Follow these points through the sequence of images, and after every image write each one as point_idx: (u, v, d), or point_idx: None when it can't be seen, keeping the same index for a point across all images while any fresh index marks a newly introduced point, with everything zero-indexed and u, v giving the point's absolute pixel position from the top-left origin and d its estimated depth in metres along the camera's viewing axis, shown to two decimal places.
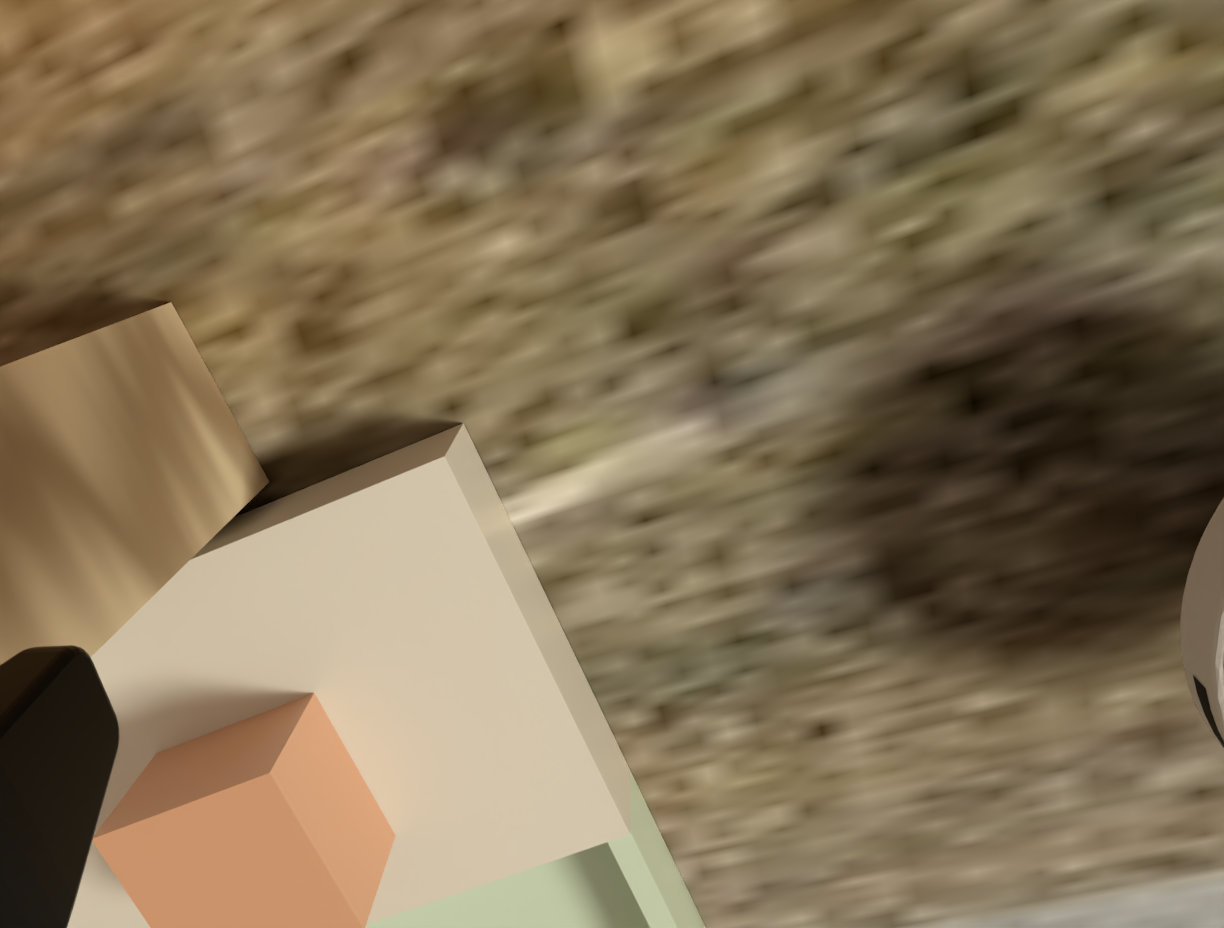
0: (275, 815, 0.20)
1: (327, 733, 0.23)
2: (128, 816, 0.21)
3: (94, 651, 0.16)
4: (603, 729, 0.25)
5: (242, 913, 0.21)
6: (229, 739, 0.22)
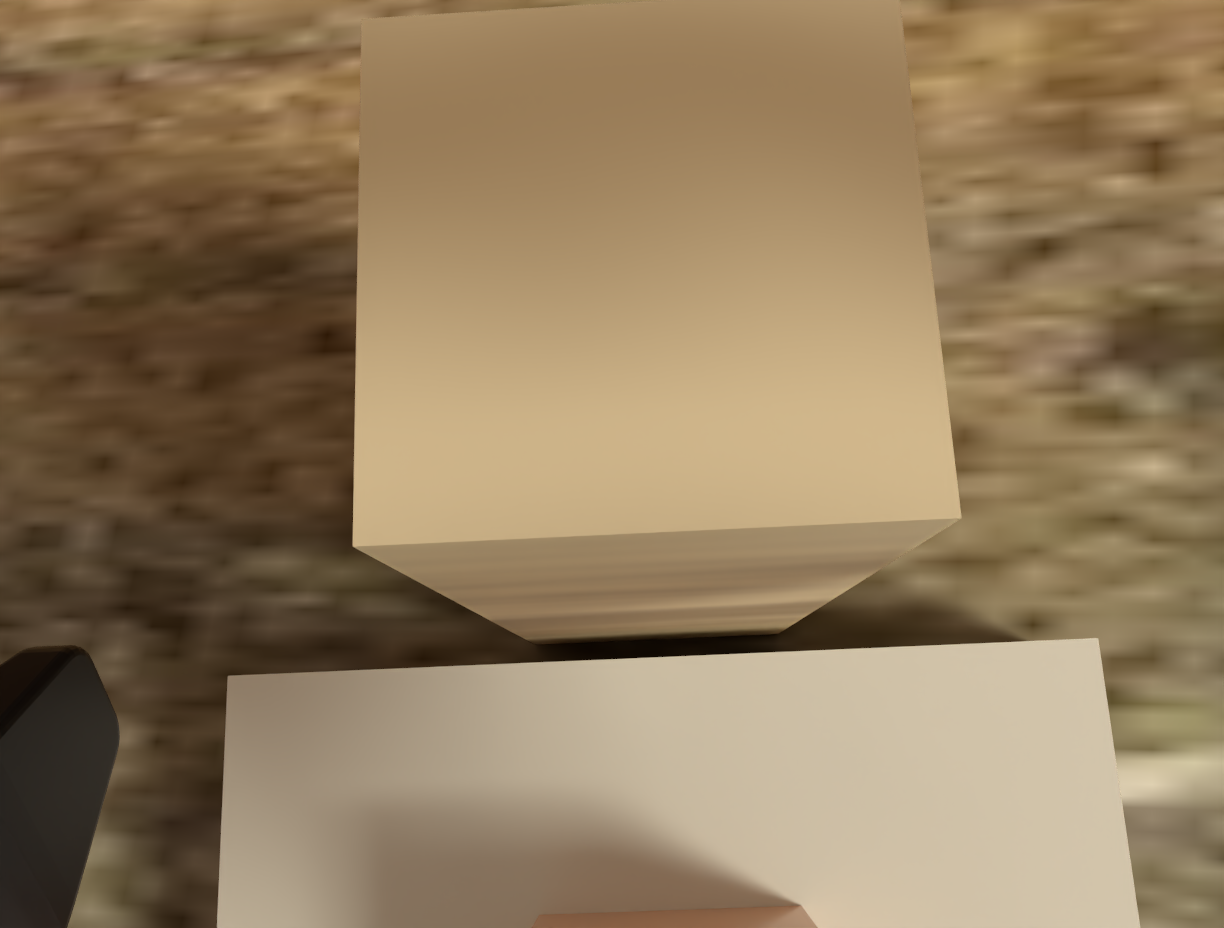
0: None
1: None
2: None
3: None
4: None
5: None
6: (682, 919, 0.15)
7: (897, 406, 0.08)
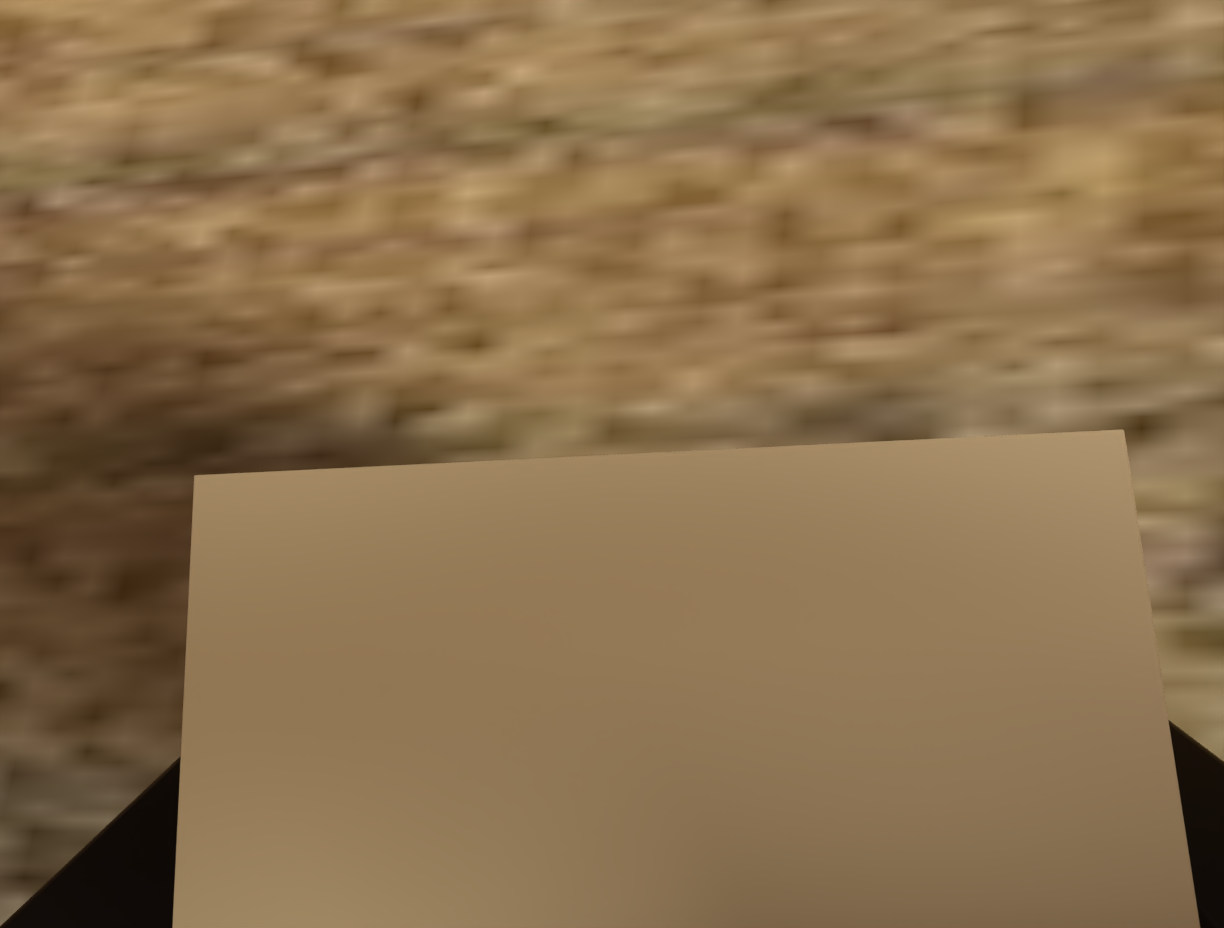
0: None
1: None
2: None
3: None
4: None
5: None
6: None
7: None
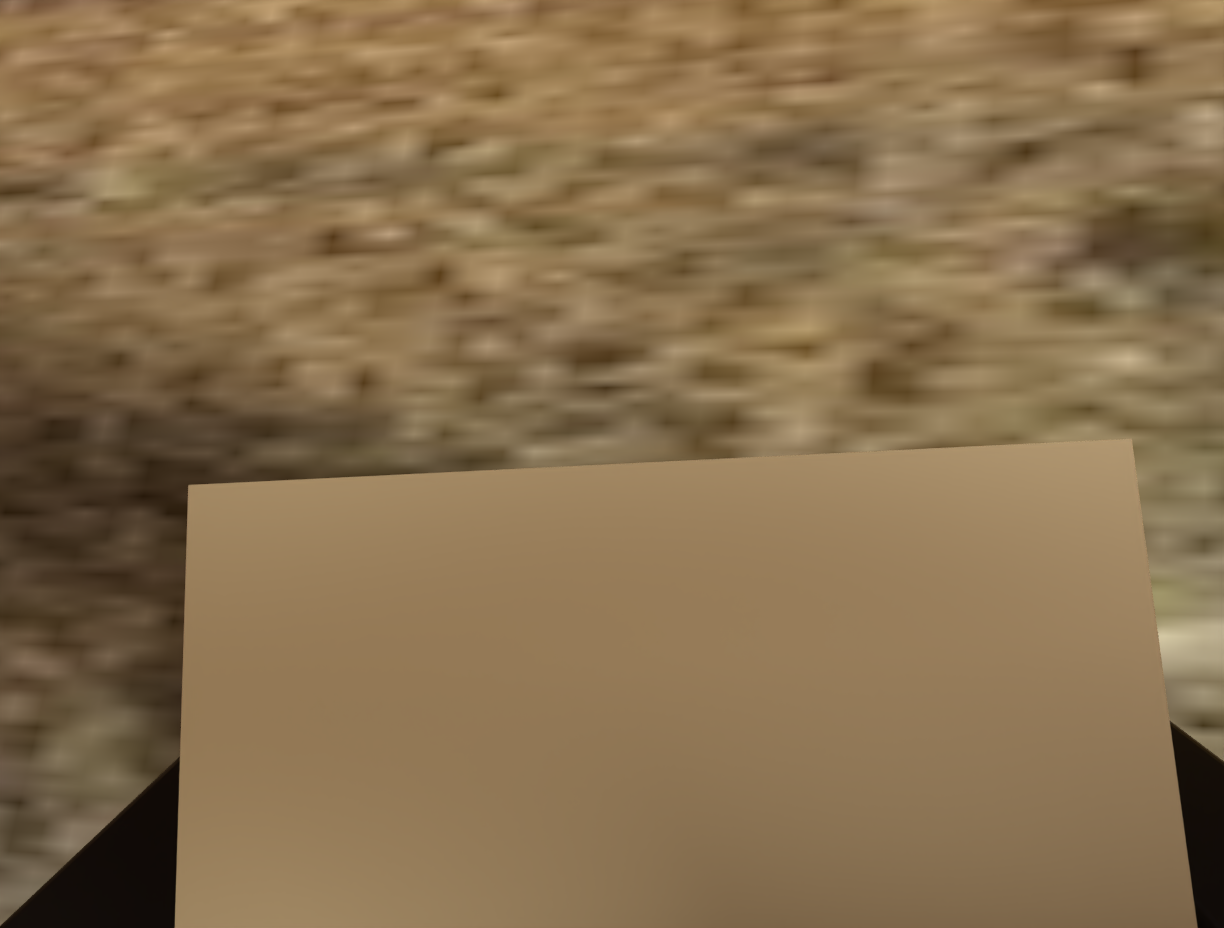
0: None
1: None
2: None
3: None
4: None
5: None
6: None
7: None
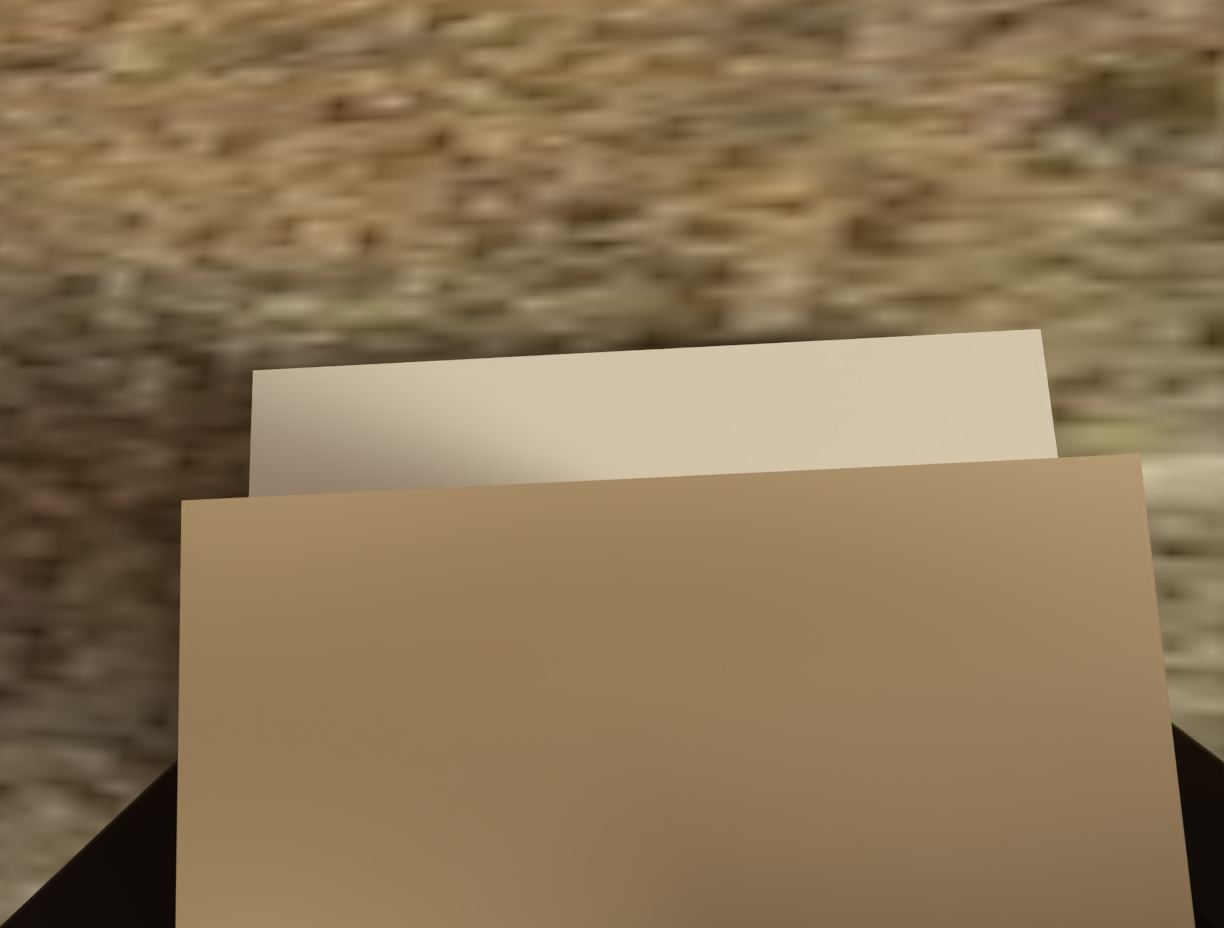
0: None
1: None
2: None
3: None
4: None
5: None
6: None
7: None
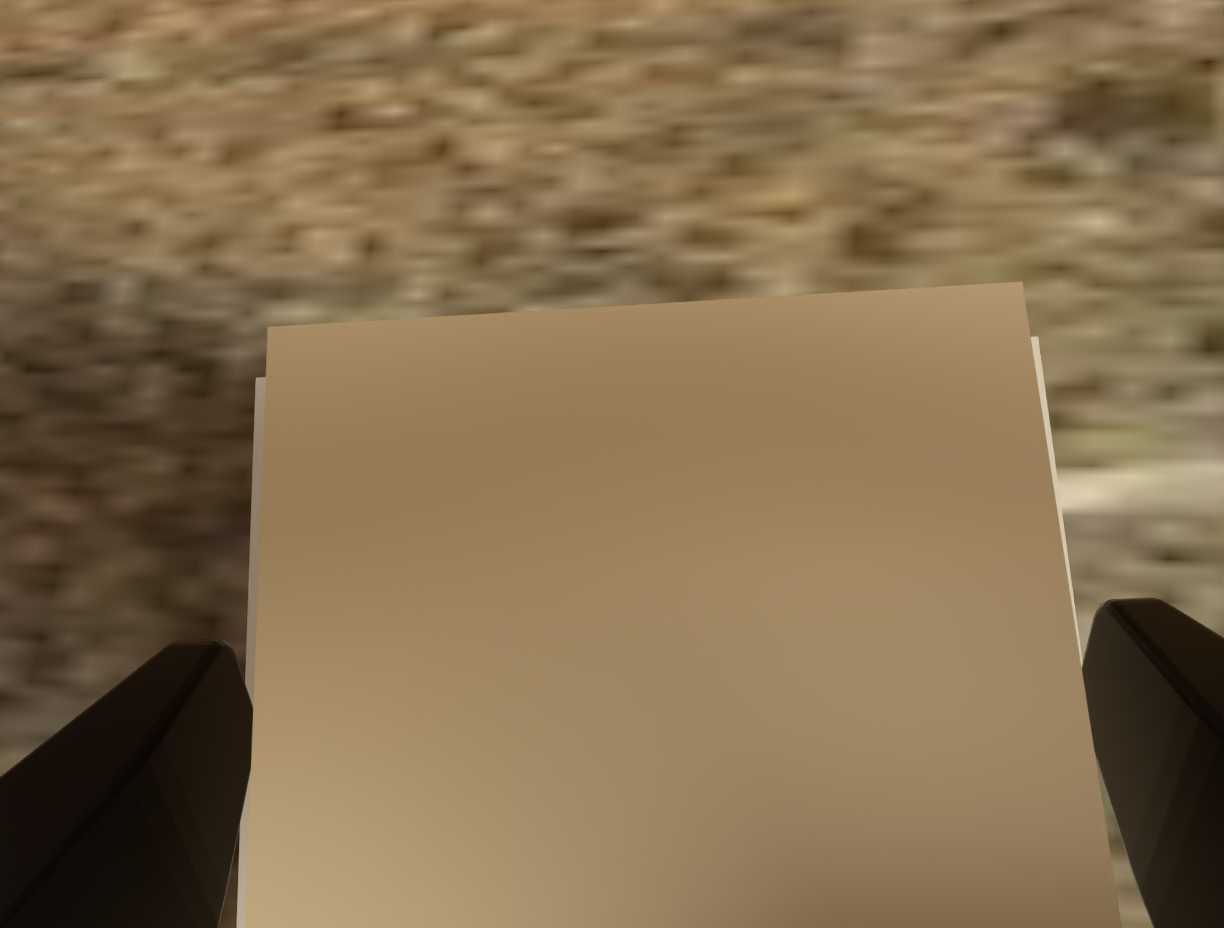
0: None
1: None
2: None
3: None
4: None
5: None
6: None
7: None
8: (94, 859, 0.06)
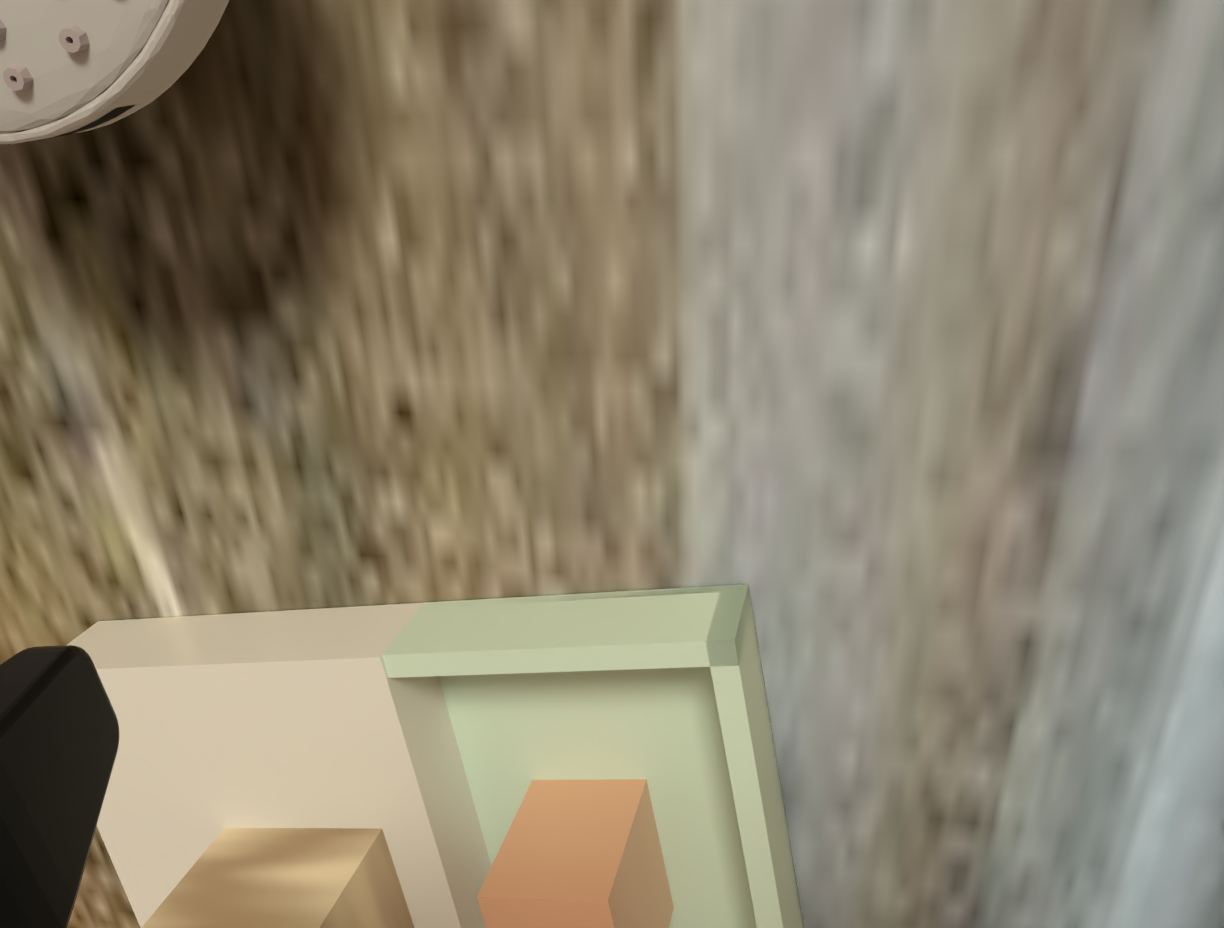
0: (620, 883, 0.23)
1: (505, 869, 0.24)
2: None
3: None
4: (352, 618, 0.26)
5: (651, 885, 0.25)
6: None
7: None
8: None
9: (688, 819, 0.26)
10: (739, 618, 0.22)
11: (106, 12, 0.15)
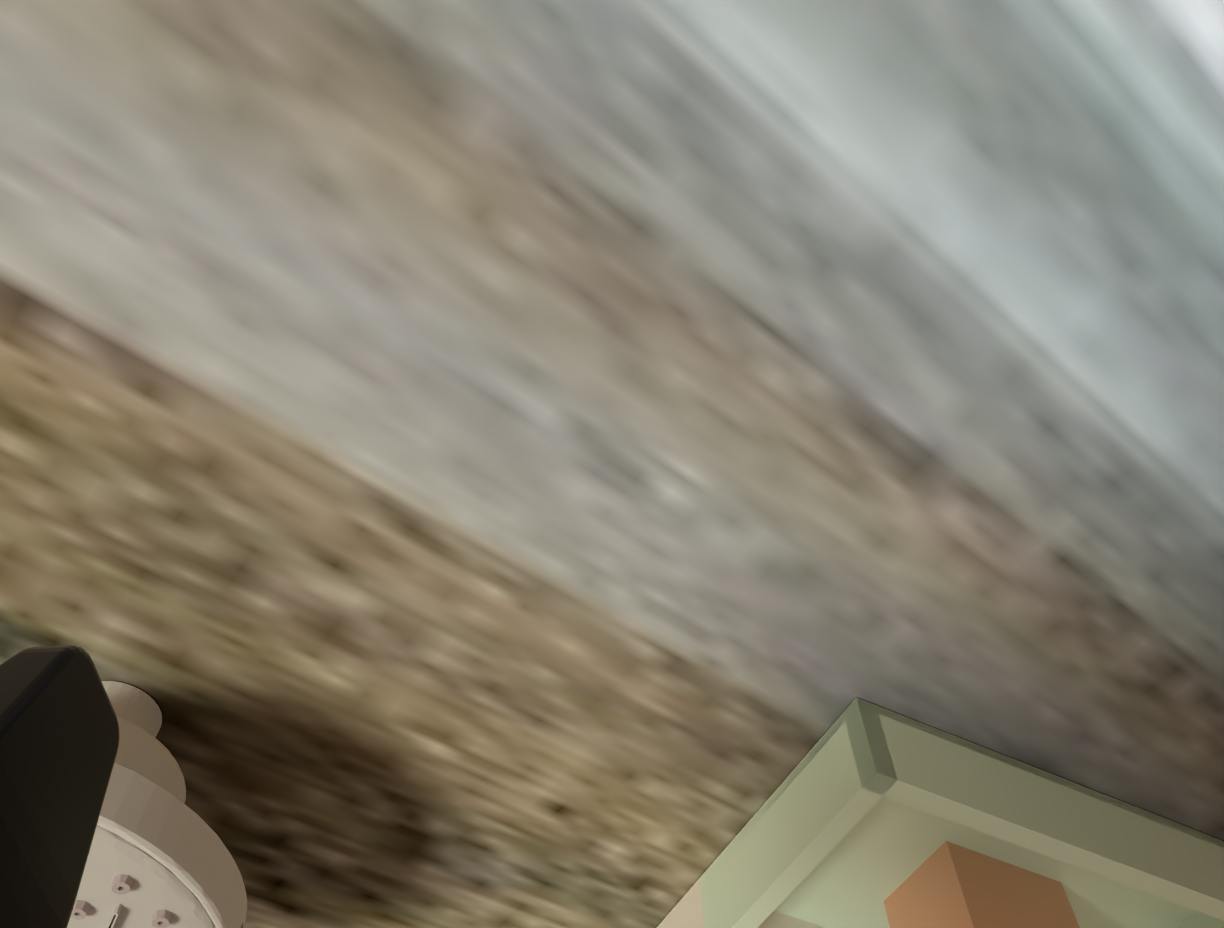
0: None
1: None
2: None
3: None
4: None
5: (1022, 904, 0.28)
6: None
7: None
8: None
9: None
10: (868, 743, 0.25)
11: None
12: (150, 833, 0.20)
